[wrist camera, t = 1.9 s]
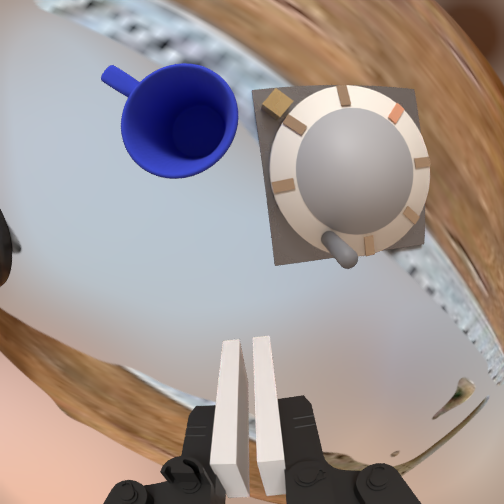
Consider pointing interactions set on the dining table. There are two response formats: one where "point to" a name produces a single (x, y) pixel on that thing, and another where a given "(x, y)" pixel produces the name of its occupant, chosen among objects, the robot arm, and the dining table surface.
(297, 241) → the bearing plate
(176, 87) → the mug
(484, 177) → the dining table surface
